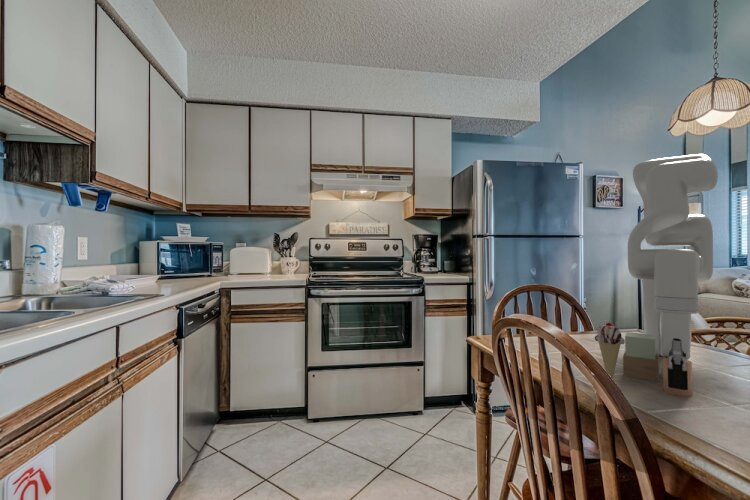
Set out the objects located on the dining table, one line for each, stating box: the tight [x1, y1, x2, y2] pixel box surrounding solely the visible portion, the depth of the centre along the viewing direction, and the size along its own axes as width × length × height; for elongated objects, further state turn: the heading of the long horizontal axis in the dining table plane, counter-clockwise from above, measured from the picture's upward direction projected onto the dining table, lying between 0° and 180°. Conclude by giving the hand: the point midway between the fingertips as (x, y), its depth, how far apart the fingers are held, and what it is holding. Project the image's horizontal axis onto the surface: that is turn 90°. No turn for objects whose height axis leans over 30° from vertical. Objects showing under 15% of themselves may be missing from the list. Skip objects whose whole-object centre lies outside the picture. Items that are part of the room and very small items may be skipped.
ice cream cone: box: [594, 322, 625, 379], centre depth 84 cm, size 6×6×15 cm
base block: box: [622, 352, 660, 382], centre depth 93 cm, size 7×7×5 cm
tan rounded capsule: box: [662, 356, 694, 398], centre depth 81 cm, size 5×5×7 cm
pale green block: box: [624, 331, 655, 360], centre depth 94 cm, size 6×6×5 cm
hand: (677, 382), depth 81 cm, fingers open, 9 cm apart
